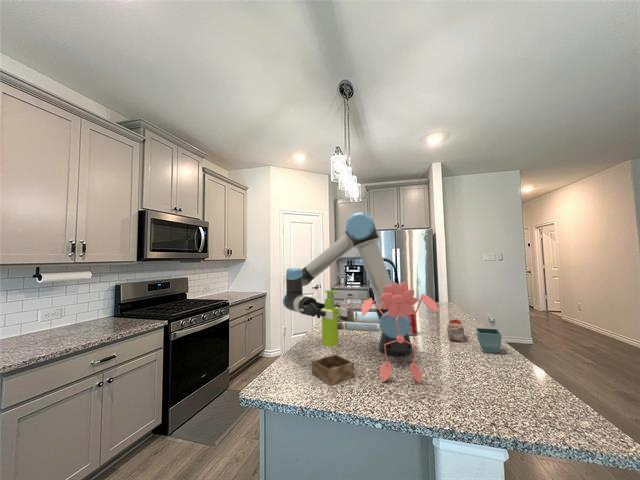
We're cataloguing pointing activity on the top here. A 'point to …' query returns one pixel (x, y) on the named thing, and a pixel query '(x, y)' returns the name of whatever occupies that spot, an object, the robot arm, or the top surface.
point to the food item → (455, 330)
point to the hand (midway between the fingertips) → (339, 314)
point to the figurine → (400, 303)
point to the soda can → (412, 324)
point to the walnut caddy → (333, 369)
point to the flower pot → (489, 339)
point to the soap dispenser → (330, 322)
